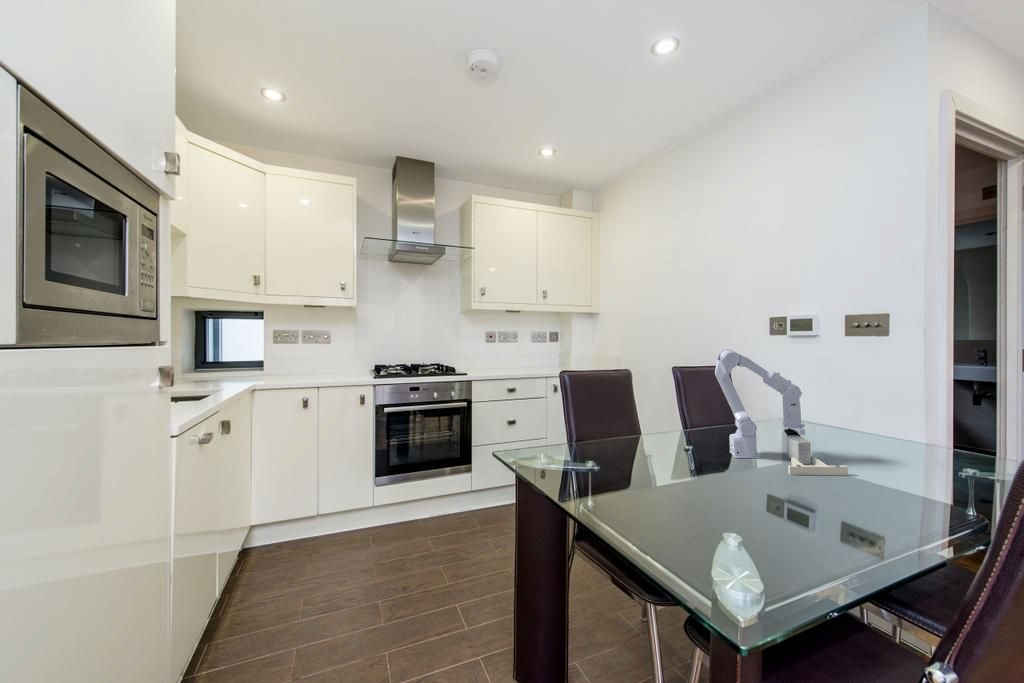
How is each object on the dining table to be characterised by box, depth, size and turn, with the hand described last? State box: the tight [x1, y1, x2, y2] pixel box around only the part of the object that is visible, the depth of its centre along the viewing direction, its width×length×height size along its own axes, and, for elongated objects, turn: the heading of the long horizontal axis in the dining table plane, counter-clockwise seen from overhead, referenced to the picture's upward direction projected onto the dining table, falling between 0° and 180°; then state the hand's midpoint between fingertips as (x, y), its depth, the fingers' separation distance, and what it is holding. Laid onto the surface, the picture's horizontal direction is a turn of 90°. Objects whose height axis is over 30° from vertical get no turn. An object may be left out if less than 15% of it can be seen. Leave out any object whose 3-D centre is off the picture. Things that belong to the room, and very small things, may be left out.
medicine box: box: [786, 435, 812, 465], centre depth 153 cm, size 8×4×9 cm, turn 173°
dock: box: [787, 457, 849, 476], centre depth 144 cm, size 18×11×3 cm, turn 77°
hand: (794, 447), depth 157 cm, fingers closed, pressing on medicine box
